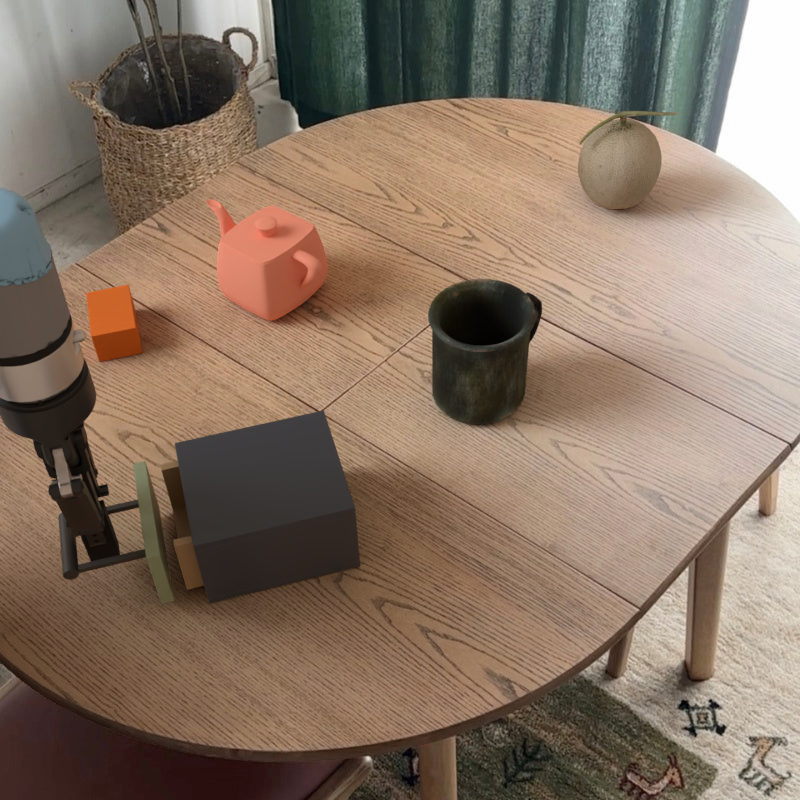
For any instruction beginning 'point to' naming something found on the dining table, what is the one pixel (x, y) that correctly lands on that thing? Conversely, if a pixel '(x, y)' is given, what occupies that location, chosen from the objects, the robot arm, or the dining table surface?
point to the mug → (481, 348)
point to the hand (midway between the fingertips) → (104, 552)
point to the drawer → (145, 535)
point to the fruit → (620, 161)
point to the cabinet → (267, 506)
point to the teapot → (269, 260)
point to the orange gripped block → (113, 323)
